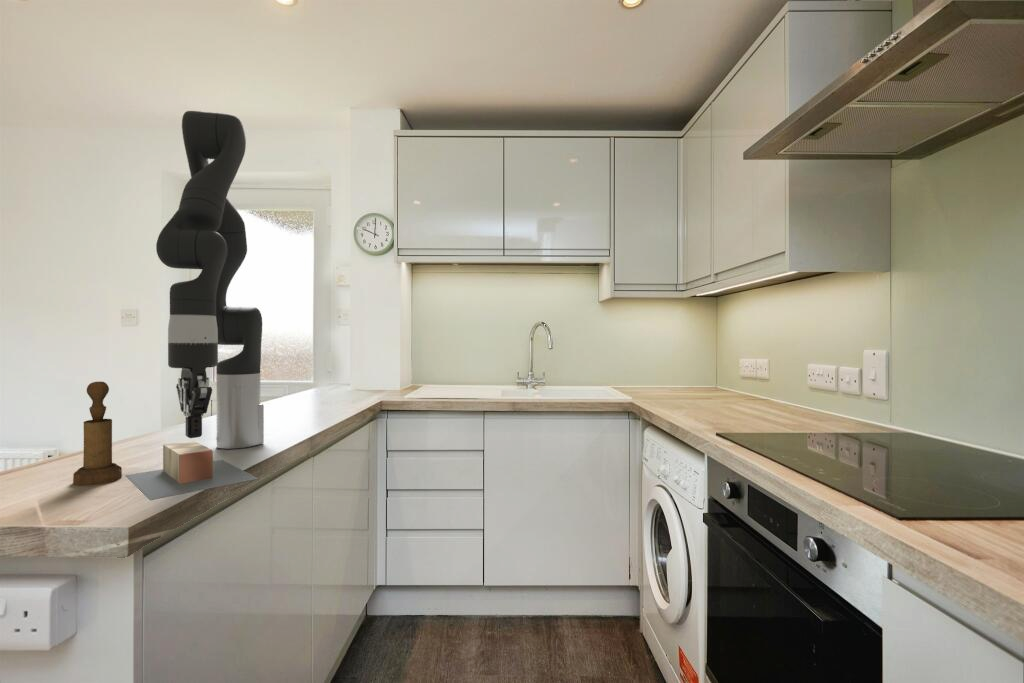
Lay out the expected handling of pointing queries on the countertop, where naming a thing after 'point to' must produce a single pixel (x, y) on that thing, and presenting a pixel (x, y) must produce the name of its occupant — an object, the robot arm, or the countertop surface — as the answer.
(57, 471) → the countertop surface
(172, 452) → the maple block
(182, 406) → the robot arm
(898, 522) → the countertop surface
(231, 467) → the slate mat
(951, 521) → the countertop surface
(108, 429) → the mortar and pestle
